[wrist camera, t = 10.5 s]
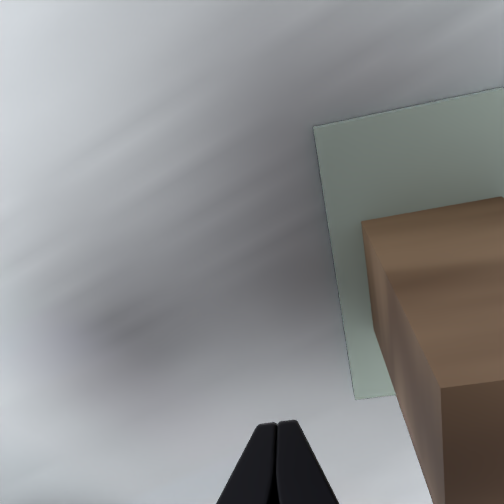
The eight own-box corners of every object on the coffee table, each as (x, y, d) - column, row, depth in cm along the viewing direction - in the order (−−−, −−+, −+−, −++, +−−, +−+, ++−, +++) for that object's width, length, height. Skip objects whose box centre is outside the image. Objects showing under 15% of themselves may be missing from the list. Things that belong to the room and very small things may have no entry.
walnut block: (497, 311, 14) (672, 524, 8) (373, 329, 15) (446, 542, 9) (501, 196, 13) (723, 352, 6) (360, 221, 13) (440, 387, 7)
